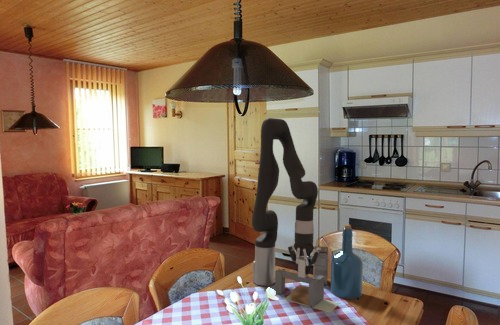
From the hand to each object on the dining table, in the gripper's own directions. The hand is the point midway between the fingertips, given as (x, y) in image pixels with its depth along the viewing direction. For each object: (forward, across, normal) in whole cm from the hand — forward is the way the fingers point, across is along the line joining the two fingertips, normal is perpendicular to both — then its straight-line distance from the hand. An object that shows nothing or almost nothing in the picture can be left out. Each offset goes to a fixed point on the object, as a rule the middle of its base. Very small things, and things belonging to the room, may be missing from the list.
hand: (303, 273), depth 144 cm
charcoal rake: (+10, -2, 0) cm, 11 cm away
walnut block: (+11, +1, 0) cm, 11 cm away
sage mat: (+12, +4, 0) cm, 12 cm away
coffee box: (+12, -2, +23) cm, 26 cm away
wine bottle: (+12, +12, +17) cm, 24 cm away
